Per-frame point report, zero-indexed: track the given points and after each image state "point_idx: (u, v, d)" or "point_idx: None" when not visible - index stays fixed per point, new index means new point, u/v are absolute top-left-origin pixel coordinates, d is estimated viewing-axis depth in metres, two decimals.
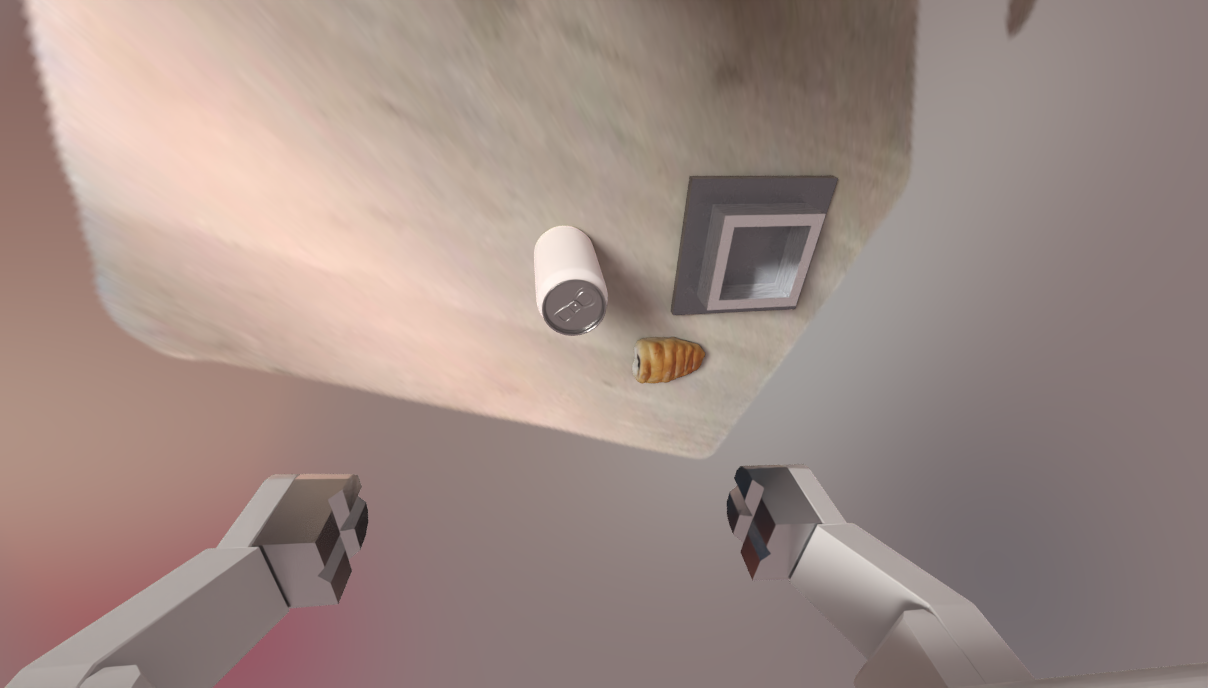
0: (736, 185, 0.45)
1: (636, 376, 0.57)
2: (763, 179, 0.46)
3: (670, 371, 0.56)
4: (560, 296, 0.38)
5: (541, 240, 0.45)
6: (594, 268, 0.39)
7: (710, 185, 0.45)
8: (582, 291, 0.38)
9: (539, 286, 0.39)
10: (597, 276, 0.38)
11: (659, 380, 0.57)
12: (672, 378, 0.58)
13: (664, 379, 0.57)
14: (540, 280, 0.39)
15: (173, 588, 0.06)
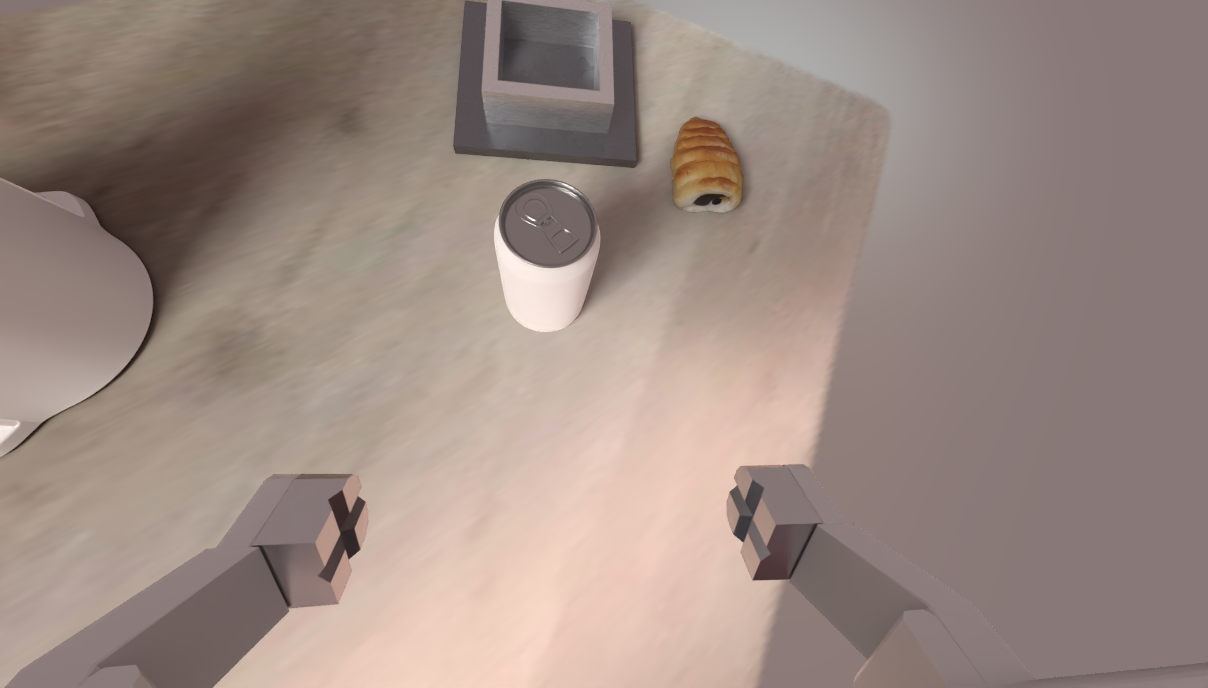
0: (465, 99, 0.39)
1: (732, 202, 0.40)
2: (460, 73, 0.40)
3: (716, 151, 0.39)
4: (528, 242, 0.25)
5: (516, 316, 0.34)
6: None
7: (462, 126, 0.38)
8: (522, 212, 0.25)
9: (523, 280, 0.26)
10: None
11: (734, 166, 0.39)
12: (731, 151, 0.40)
13: (730, 159, 0.39)
14: (519, 282, 0.27)
15: (173, 588, 0.06)
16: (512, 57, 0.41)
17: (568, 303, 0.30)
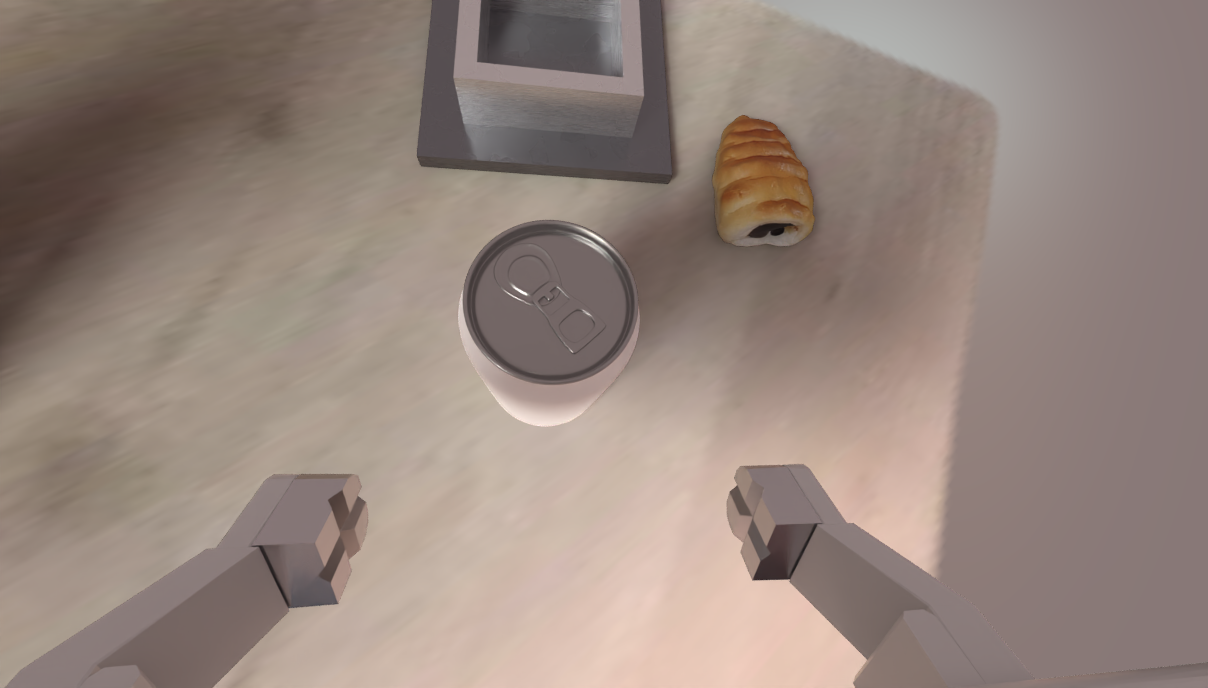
0: (434, 91, 0.28)
1: (800, 232, 0.28)
2: (428, 55, 0.29)
3: (779, 163, 0.28)
4: (517, 335, 0.14)
5: None
6: None
7: (430, 128, 0.27)
8: (506, 279, 0.14)
9: (509, 395, 0.15)
10: None
11: (803, 183, 0.28)
12: (797, 162, 0.29)
13: (798, 173, 0.28)
14: (503, 394, 0.15)
15: (173, 588, 0.06)
16: (500, 33, 0.30)
17: (583, 407, 0.19)
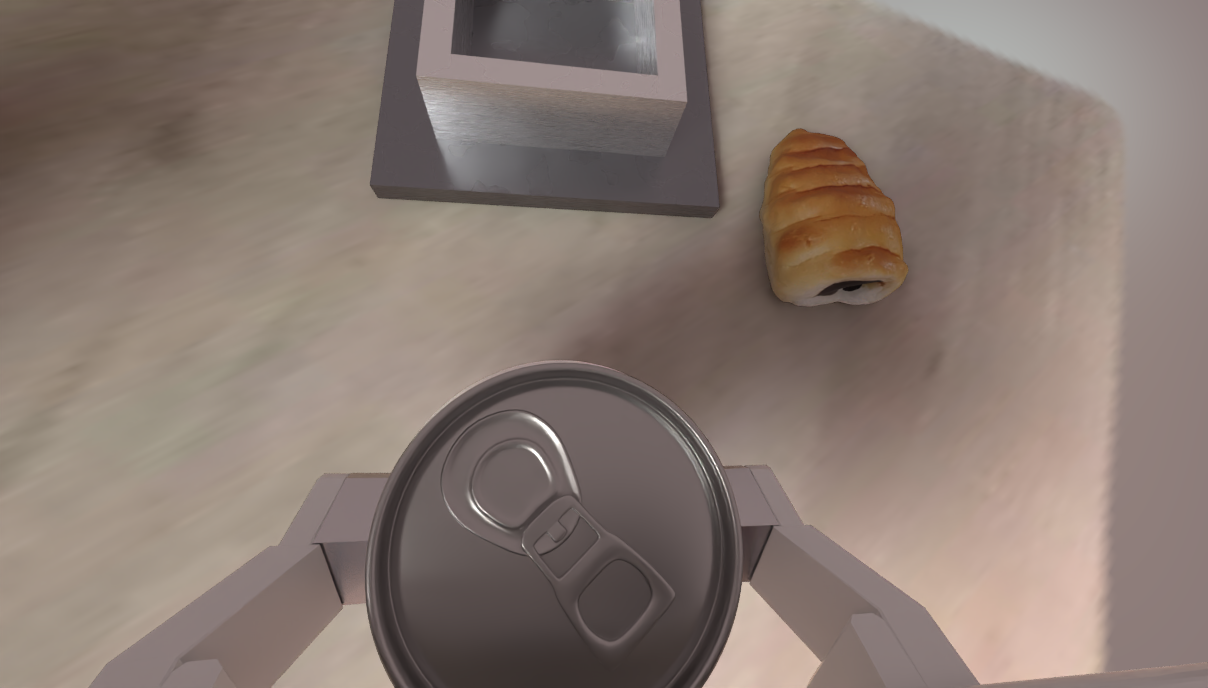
0: (397, 95, 0.21)
1: (887, 288, 0.21)
2: (390, 46, 0.21)
3: (858, 196, 0.20)
4: (487, 631, 0.06)
5: None
6: None
7: (390, 147, 0.20)
8: (467, 495, 0.07)
9: None
10: (439, 409, 0.08)
11: (891, 222, 0.20)
12: (878, 192, 0.21)
13: (884, 208, 0.20)
14: None
15: (242, 585, 0.06)
16: (488, 18, 0.22)
17: None
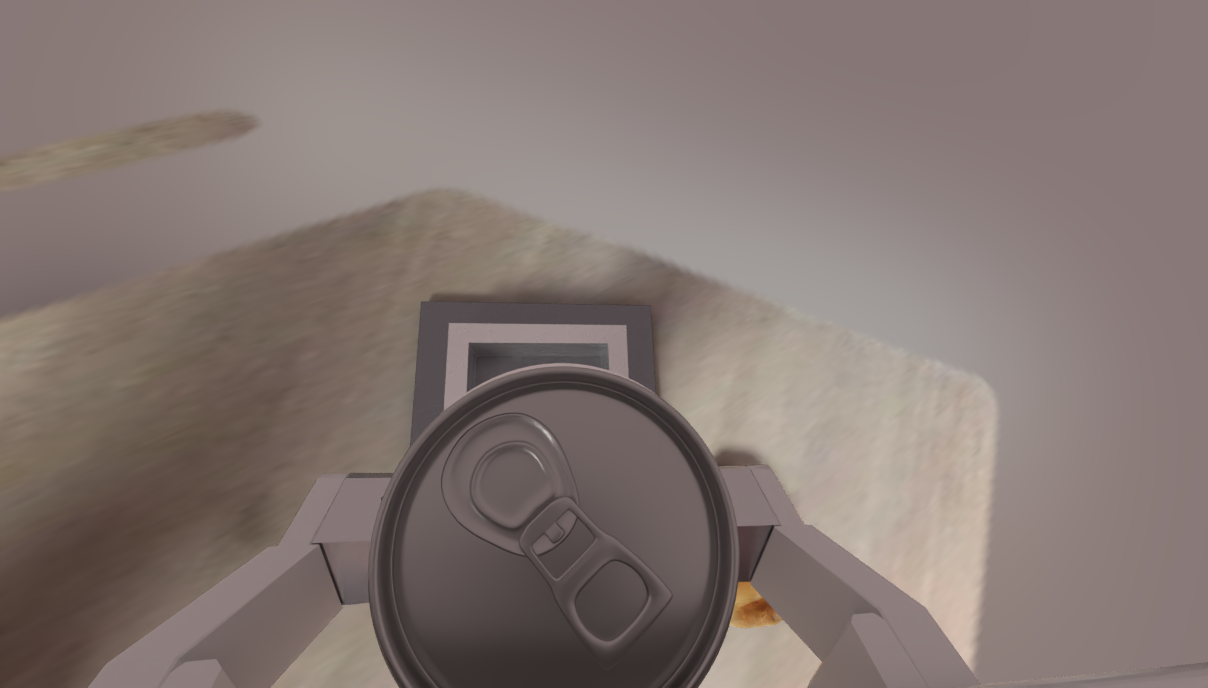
0: None
1: None
2: (413, 426, 0.28)
3: None
4: (486, 629, 0.07)
5: None
6: None
7: None
8: (467, 497, 0.07)
9: None
10: None
11: None
12: None
13: None
14: None
15: (242, 585, 0.06)
16: None
17: None
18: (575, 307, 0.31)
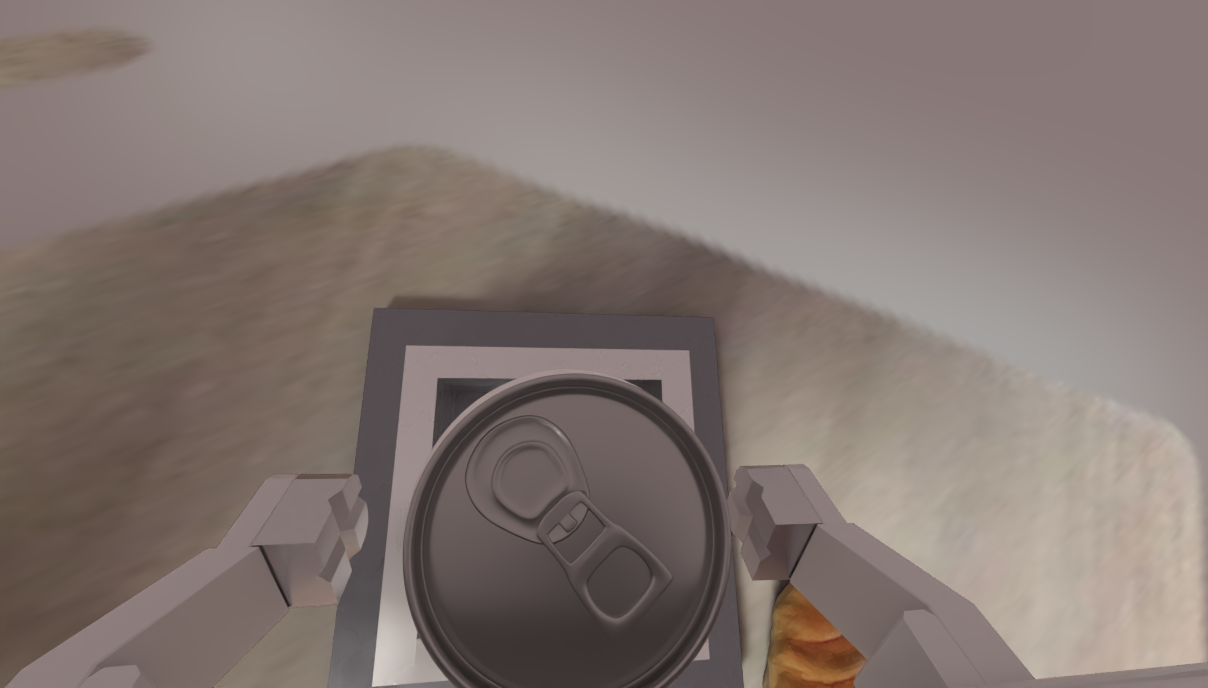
0: (359, 581, 0.17)
1: None
2: None
3: None
4: (508, 609, 0.07)
5: None
6: None
7: (349, 664, 0.16)
8: (488, 491, 0.08)
9: None
10: (460, 414, 0.09)
11: None
12: None
13: None
14: None
15: (173, 588, 0.06)
16: None
17: None
18: (604, 319, 0.21)
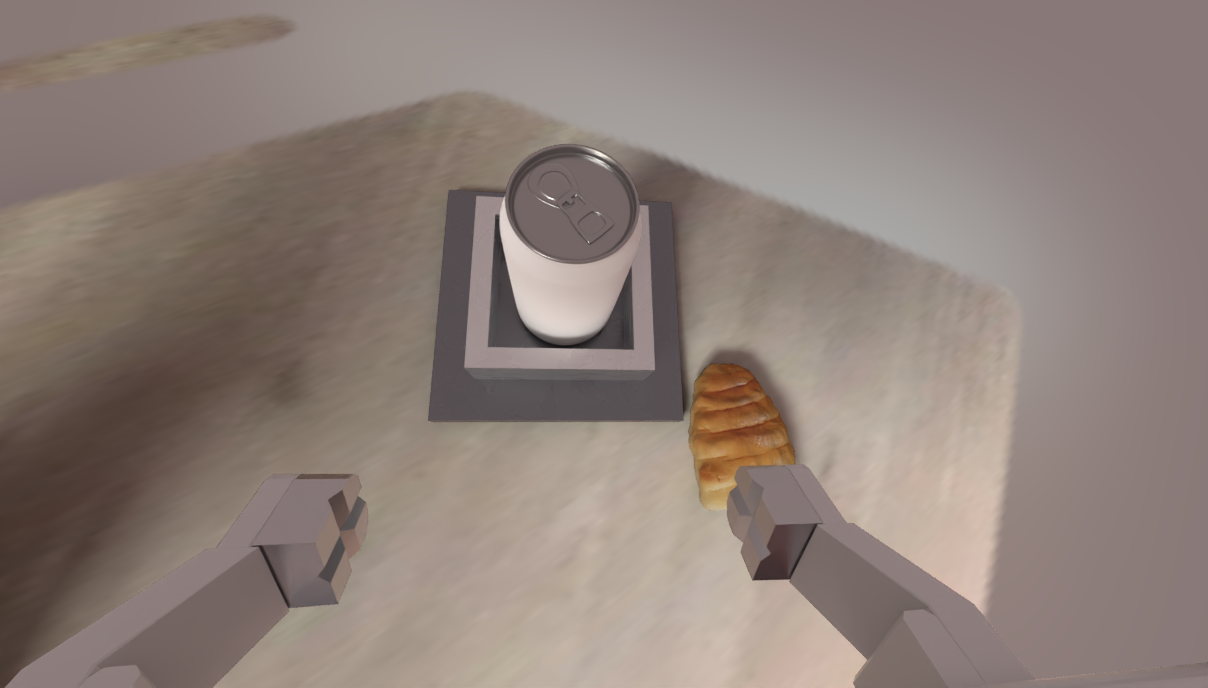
0: (446, 344, 0.28)
1: None
2: (440, 302, 0.29)
3: (755, 437, 0.27)
4: (546, 229, 0.18)
5: (530, 326, 0.27)
6: None
7: (442, 388, 0.27)
8: (537, 188, 0.19)
9: (540, 281, 0.19)
10: None
11: (782, 451, 0.27)
12: (774, 420, 0.28)
13: (776, 441, 0.27)
14: (534, 284, 0.20)
15: (173, 588, 0.06)
16: None
17: (596, 310, 0.23)
18: None
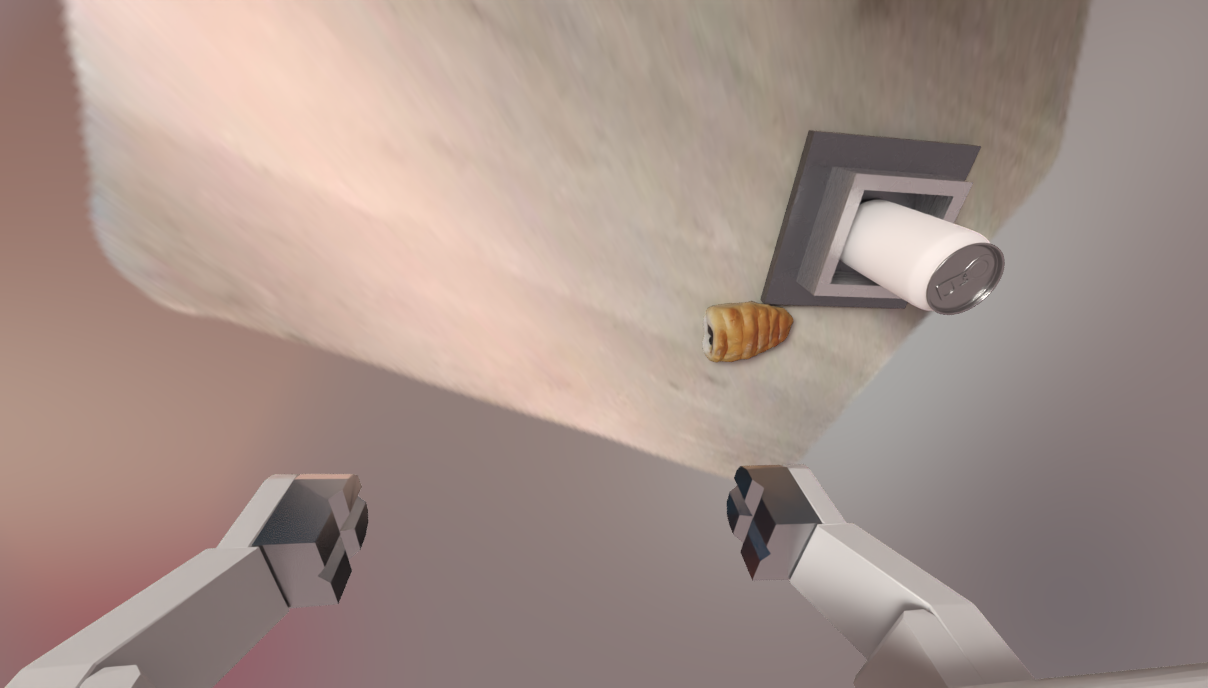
0: (863, 144, 0.38)
1: (708, 354, 0.47)
2: (895, 140, 0.38)
3: (751, 342, 0.45)
4: (955, 263, 0.32)
5: (861, 213, 0.39)
6: None
7: (834, 141, 0.38)
8: (981, 259, 0.32)
9: (920, 252, 0.33)
10: None
11: (738, 356, 0.46)
12: (754, 353, 0.46)
13: (745, 353, 0.46)
14: (917, 246, 0.33)
15: (173, 588, 0.06)
16: (899, 195, 0.41)
17: (874, 270, 0.37)
18: None
